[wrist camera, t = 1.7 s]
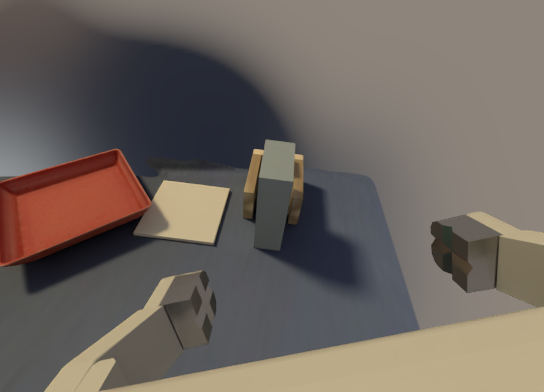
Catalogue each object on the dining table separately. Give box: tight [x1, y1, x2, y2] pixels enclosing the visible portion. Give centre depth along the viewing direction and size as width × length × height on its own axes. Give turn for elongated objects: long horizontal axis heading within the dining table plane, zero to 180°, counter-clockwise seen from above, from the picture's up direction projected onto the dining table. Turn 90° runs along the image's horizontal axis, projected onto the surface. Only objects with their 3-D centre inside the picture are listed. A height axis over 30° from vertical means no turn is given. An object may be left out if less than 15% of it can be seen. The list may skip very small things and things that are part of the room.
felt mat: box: [133, 180, 230, 245], centre depth 43 cm, size 12×12×1 cm
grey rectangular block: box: [254, 140, 295, 251], centre depth 38 cm, size 4×8×14 cm, turn 175°
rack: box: [243, 149, 303, 225], centre depth 46 cm, size 9×12×6 cm
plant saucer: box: [0, 149, 152, 267], centre depth 40 cm, size 18×18×3 cm
